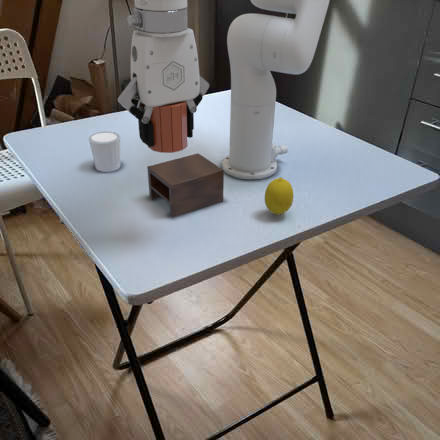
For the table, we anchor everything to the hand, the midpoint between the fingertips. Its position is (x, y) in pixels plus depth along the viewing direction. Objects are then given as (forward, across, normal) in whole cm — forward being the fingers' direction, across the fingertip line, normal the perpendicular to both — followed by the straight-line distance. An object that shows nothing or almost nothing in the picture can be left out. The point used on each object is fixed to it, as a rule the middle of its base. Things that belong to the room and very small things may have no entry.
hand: (167, 138), depth 86 cm
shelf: (+18, +9, +9) cm, 22 cm away
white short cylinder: (+18, +2, +32) cm, 37 cm away
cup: (+1, 0, 0) cm, 1 cm away
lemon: (+18, +21, -6) cm, 28 cm away
